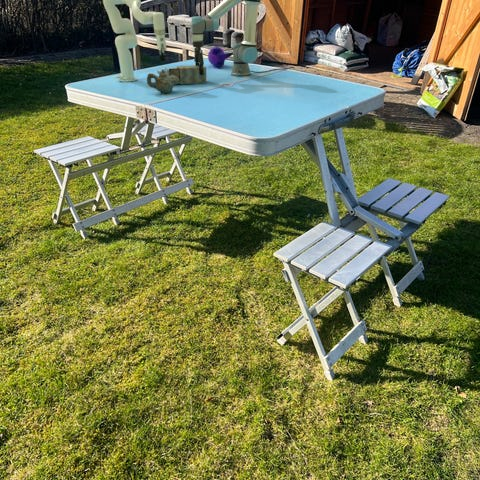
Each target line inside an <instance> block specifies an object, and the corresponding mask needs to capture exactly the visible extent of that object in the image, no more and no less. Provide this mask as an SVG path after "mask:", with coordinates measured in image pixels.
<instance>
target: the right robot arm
mask: <svg viewBox="0 0 480 480" xmlns="http://www.w3.org/2000/svg"><path fill="white" fill-rule="evenodd" d="M261 1H262V0H223V1H222V2H221V3H219V4H218V5H217V6H216V7H214V8H213V9H212V10H211V11H210V12H208V13H207V14H206V15H204V16H199V15H198V16H196V15H195V16H192V17H191V19H190V20H191V21H190V22H191V37H192V39H191V40H192V47H193V50H194V55H193V57H194V58H193V59H194V60H193V61H194V63H195V64H194V66H195V65H199V72H200V75H204V74H203V66H205V63H204V62H205V60H204V54H203V49H202V48H203V47H204V36H205V35H204V32H215V31H219V29H220V22H219V20H220V19H221V18H222V17H223V16H225V15H226V14H227V13H228V12H229V11H231V10H232V9H233V8H235V7H236V6H237V5H238V4H239V3H240V4H241V3H243V2H244V3H245V15H244V26H243V27H244V28H243V39H242V41H241V42H238V43H233V45H232V53H233V55H232V60H233V63H232V68H231V72H230V73H231V76H233V77H246V76H250V75H251V73H254V74H255V73H256V74H260V73H261V74H262V73H268V72H271V71H277V70H290V69H294V70H296V68H295V67H294V66H290V67H283V68H274V69H269V70H263V71H254V70H251V69H250V65H249V64H254V63H255V62H256V61H257V59H258V57H259V52H258V50H257V43H256V32H257V22H258V13H259V12H258V10H259V5H260V4H261Z"/></svg>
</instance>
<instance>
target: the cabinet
mask: <svg viewBox="0 0 480 480" xmlns="http://www.w3.org/2000/svg"><path fill="white" fill-rule="evenodd" d="M176 68H178V69H180V82H178V84H180V85H192V84H193V85H195V84H207V82H208V81H207V80H208V79H207V77H208V76H207V66H205V65H203V74H204V75H200V72H199V65H195V64H194V65H177V66H176Z"/></svg>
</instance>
